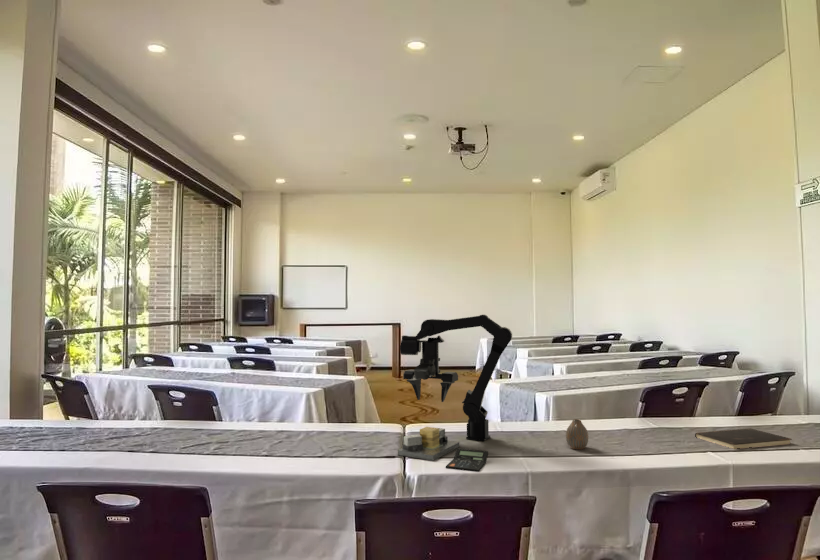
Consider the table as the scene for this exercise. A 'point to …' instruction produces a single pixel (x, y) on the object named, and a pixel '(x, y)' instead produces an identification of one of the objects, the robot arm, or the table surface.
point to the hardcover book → (743, 438)
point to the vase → (577, 435)
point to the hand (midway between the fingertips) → (430, 400)
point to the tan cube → (430, 436)
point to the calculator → (468, 460)
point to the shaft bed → (417, 450)
